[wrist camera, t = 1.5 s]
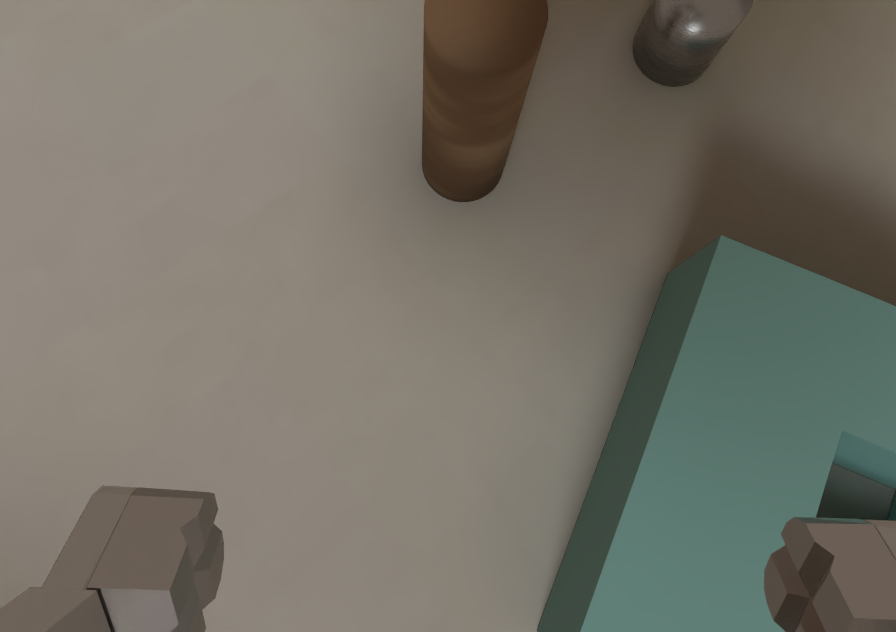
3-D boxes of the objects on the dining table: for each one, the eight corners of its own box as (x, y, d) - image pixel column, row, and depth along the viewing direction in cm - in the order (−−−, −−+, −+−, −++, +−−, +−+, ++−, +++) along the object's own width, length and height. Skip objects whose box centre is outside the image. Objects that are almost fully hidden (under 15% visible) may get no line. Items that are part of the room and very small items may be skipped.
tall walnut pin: (409, 183, 28) (404, 38, 18) (440, 113, 29) (452, -64, 19) (485, 214, 28) (521, 85, 18) (515, 143, 29) (566, -19, 19)
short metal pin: (621, 69, 29) (653, 9, 26) (647, 4, 30) (682, -63, 26) (694, 98, 29) (737, 43, 25) (719, 33, 30) (764, -31, 26)
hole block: (536, 630, 25) (565, 673, 20) (667, 273, 28) (721, 234, 23) (970, 818, 25) (1107, 908, 20) (1062, 435, 27) (1203, 431, 22)
